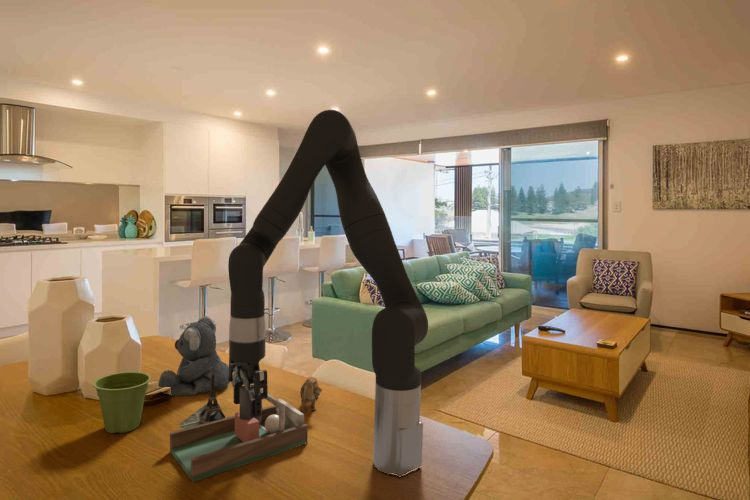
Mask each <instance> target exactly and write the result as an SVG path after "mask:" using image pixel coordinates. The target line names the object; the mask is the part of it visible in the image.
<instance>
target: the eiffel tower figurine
mask: <svg viewBox="0 0 750 500" xmlns="http://www.w3.org/2000/svg"><path fill="white" fill-rule="evenodd" d="M211 373H212V378H211V390H210V391H209V392H210V393H209V396H208V400H207V403H205V405H203V406H201V407H200V408H199V409H198V410H196V411H195V412H193V413H192V414H191V415H189V416H188V417H187V418H185V419H184V420H182V422H181V423H179V424H178V427H179V428H180V429H186V428H189V427H193V426H197V425H201V424H205V423H208V422H212V421H216V420H220V419H224V418H226V417H227V416H226V415H225V413H223V410H221V406H220V404H219V403H218V400H217V395H216V390H215V385H214V370H212V371H211ZM225 416H226V417H225Z"/></svg>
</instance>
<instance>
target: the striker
mask: <svg viewBox="0 0 750 500" xmlns="http://www.w3.org/2000/svg"><path fill="white" fill-rule="evenodd" d="M253 392H254V390H253ZM250 400H251V399H250V395H249V392H248V391H246V389H245V385H242V386H241V387H240V404H239V411H236V412H234V416H235V435H236V436H237V437H238V438H239V439H240V440H241V441H242V442H243V443H244V442H247V441H250V440H254V439H257V438H259V421H258V420H257V419H256V418H252V417H251V416H250Z"/></svg>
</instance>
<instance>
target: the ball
mask: <svg viewBox="0 0 750 500" xmlns="http://www.w3.org/2000/svg"><path fill="white" fill-rule="evenodd" d="M265 428H266V430H267V431H268V432H270V433H277V432H278V431H279V415H276V414H273V415H270V416H269V417H268V418H267V419H266V421H265Z"/></svg>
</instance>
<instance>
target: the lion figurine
mask: <svg viewBox="0 0 750 500" xmlns="http://www.w3.org/2000/svg"><path fill="white" fill-rule="evenodd" d="M322 391H323V389H322V388H321V387H319V383H318V380H317V378H316V377H315V376H310V377H307V378H306V380H305V381H304V383H303V384H302V385H301V387H300V393H299V394H300V398H301V410H300V412H301V411H302V413H306V411H307V408H306V403H310V410H316V411H317V408H315V407H316V406H315V405H316V404H315V403H316V398H317V399H319V396H320V394H321V393H322Z"/></svg>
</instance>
